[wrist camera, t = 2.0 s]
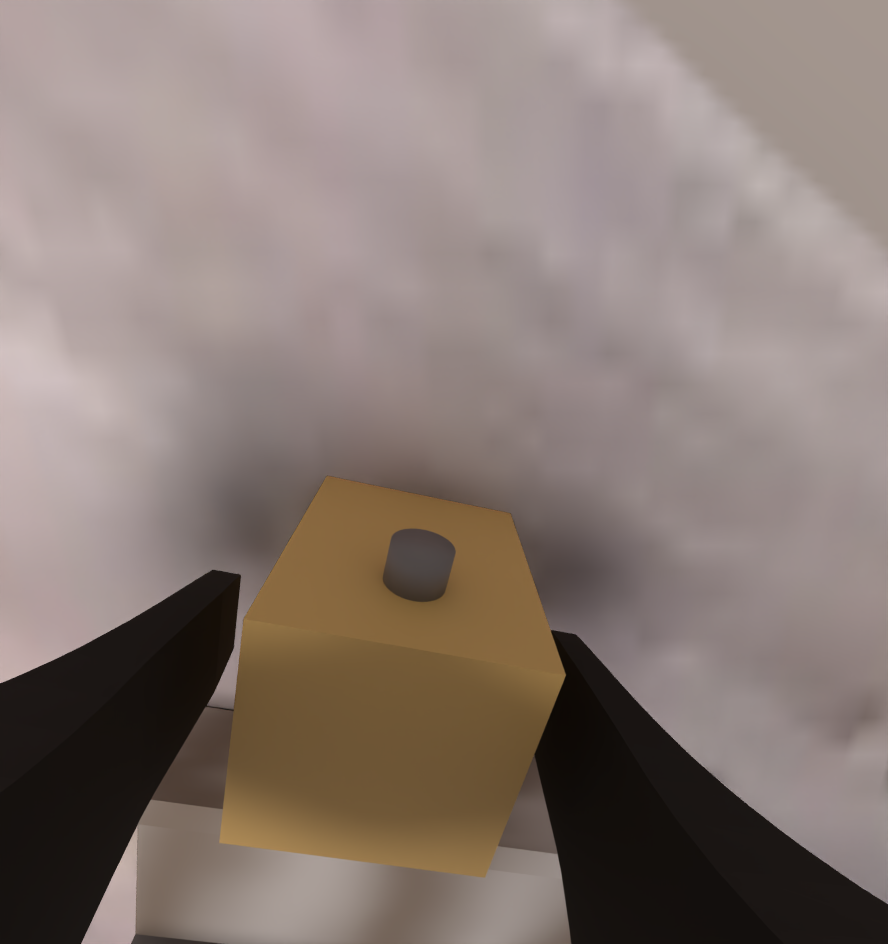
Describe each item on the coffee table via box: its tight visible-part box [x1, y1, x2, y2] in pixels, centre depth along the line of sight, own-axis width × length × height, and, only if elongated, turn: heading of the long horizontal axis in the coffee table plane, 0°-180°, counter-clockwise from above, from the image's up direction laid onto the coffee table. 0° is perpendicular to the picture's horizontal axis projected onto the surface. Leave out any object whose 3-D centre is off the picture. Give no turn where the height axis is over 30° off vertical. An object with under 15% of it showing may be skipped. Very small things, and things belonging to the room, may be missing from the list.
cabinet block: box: [219, 476, 566, 878], centre depth 11 cm, size 5×6×6 cm
